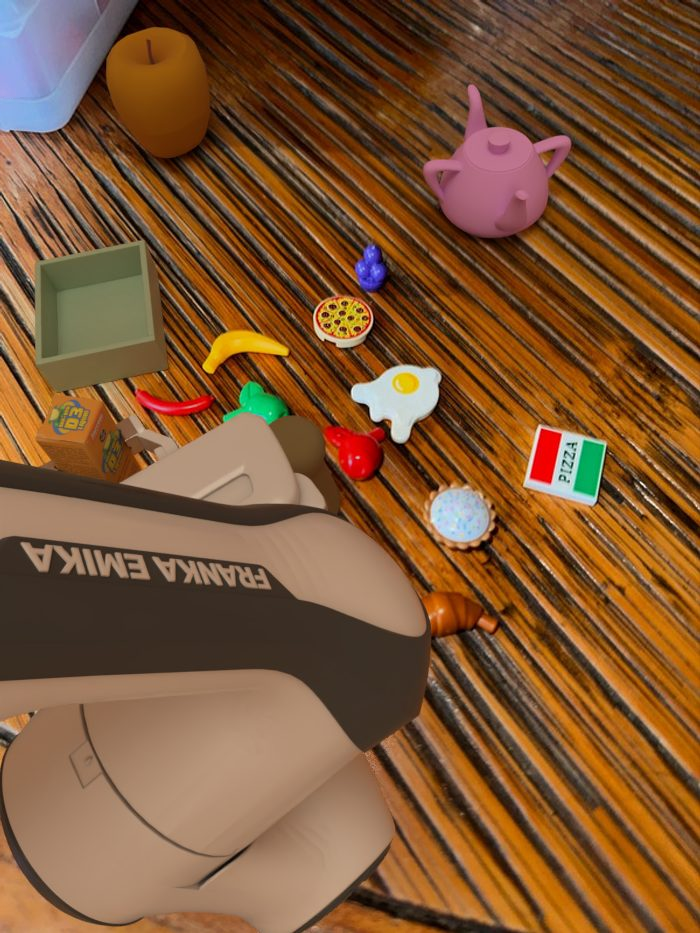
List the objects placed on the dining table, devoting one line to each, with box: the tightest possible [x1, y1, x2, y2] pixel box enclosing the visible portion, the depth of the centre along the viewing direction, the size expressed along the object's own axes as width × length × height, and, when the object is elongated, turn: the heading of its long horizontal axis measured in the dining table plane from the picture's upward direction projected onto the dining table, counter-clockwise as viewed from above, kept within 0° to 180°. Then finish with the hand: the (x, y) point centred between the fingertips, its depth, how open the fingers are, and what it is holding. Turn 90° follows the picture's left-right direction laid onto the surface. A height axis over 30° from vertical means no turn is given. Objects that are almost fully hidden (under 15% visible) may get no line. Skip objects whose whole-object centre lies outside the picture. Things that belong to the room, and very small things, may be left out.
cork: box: [268, 414, 341, 515], centre depth 62 cm, size 6×6×11 cm
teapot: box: [422, 84, 572, 239], centre depth 78 cm, size 12×14×9 cm
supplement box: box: [34, 393, 142, 483], centre depth 48 cm, size 3×3×10 cm
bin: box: [34, 239, 169, 394], centre depth 75 cm, size 13×11×5 cm
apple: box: [105, 26, 211, 159], centre depth 85 cm, size 11×11×13 cm
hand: (86, 446), depth 48 cm, fingers closed on supplement box, 4 cm apart
